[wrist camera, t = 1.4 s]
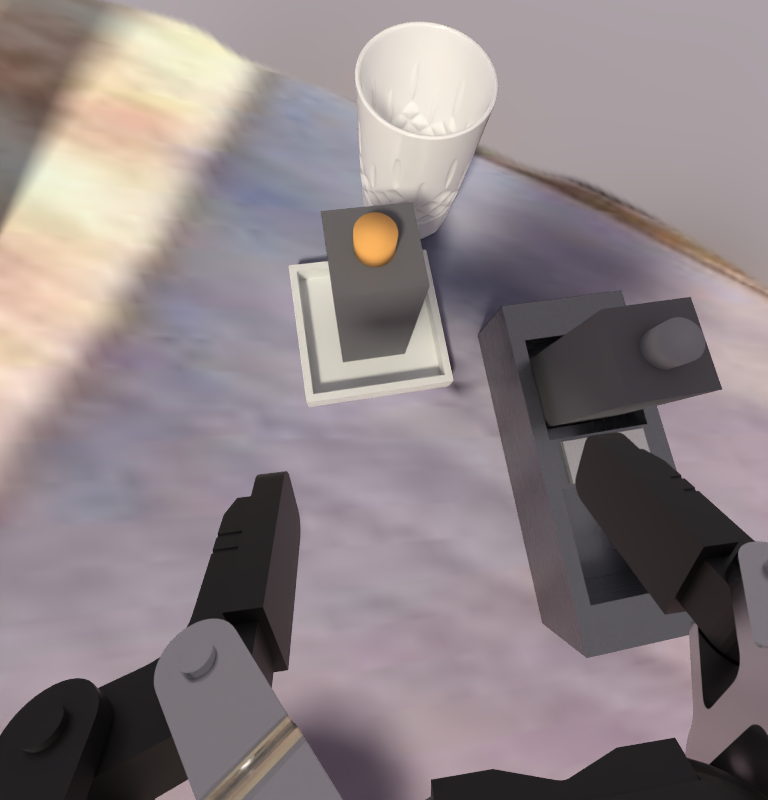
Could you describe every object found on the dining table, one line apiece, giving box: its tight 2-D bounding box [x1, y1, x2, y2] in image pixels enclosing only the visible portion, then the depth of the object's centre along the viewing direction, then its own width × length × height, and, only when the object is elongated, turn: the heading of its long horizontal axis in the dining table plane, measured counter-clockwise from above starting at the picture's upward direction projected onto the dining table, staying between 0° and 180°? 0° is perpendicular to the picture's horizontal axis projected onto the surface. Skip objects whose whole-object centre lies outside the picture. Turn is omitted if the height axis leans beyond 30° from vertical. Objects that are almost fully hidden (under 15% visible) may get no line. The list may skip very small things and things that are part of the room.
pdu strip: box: [478, 290, 693, 658], centre depth 25 cm, size 8×20×5 cm, turn 9°
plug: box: [321, 202, 430, 362], centre depth 23 cm, size 4×4×11 cm
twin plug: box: [530, 297, 722, 429], centre depth 22 cm, size 4×4×11 cm
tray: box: [289, 250, 453, 407], centre depth 28 cm, size 10×10×2 cm
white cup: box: [355, 22, 498, 240], centre depth 26 cm, size 8×8×10 cm
